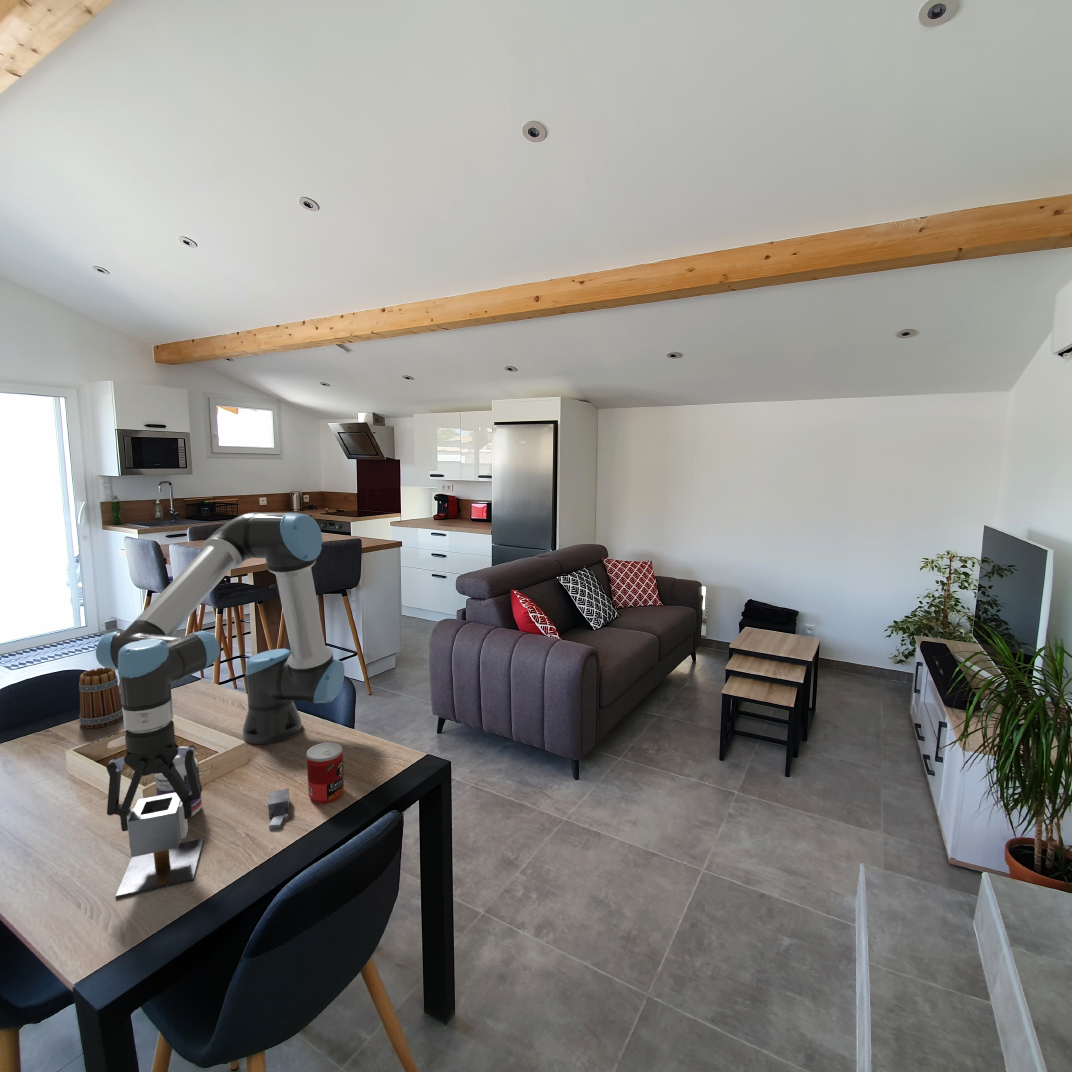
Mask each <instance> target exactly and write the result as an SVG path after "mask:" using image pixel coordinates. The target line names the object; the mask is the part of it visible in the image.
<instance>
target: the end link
mask: <svg viewBox="0 0 1072 1072" xmlns="http://www.w3.org/2000/svg"><path fill="white" fill-rule="evenodd" d="M179 803H180V798H179V797H178V795H177V794H176V793H170V794H165V795H159V796H157V795H155V796H149V797H143V798H138V800H137V802H136V804H135V806H134V807H133V808H134V810H133V812H132V814H131V816H130V819H129V821H128V828H129V835H128V839H129V838H130V845H129V850H130V856H131V858H132V857H136V856H141V855H146V854H150V853H155V852H160V851H164V850H169V849H174V848H178V847H179V845H180V843H182V839H181V833H180V822H179V810H178V806H179ZM131 858H130V859H131Z"/></svg>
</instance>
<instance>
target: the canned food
mask: <svg viewBox="0 0 1072 1072" xmlns="http://www.w3.org/2000/svg"><path fill="white" fill-rule="evenodd" d="M343 752H344V751H343V747H342V745H341V744H339V743H336V742H328V741H327V742H322V743H318V744H317V743H316V745H315V744H314V745H313V746H310V748H308V749H307V751H306V755H305V756H306V771H307V787H308V790H307V791H308V797H309V799H310V800H311V802H314V803H316V804H329V803H332V802H334V801H337V800H338V799H340V798H342V796H343V794H344V791H345V779H344V778H345V777H344V754H343Z"/></svg>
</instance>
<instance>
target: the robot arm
mask: <svg viewBox="0 0 1072 1072" xmlns="http://www.w3.org/2000/svg"><path fill="white" fill-rule="evenodd" d="M322 545H323V534H322V530H321V528H320V526H319V524H318V523H317V521H316V520H315V519H314V518H312V517H311V515H309V514H305V513H298V512H297V513H296V512H291V511H290V512H261V511H254V512H253V511H252V512H247V513H244V514H241V515H239V516H237V517H235V518H233V519H231V520H229V521H228V522H226V523H225V524H223V525H222V526H220V527H218V529H217V530H216V531H214V532H213V533H212V534H211V535H210V536H209V537H207V539H206V540H205V541H204V542H203V545H202V550H201V552H200V553H199V554H198V555H197V556H196V557H194V559H192V561H191V562H190V563H189V564H188V565H187V566H185V568H184V569H183V570H182V571H181V572H180V573H179V574H178V575H177V576H176V577H175V578H174V579H173V580H172V581H171V582H170V583H169V584H168V585H167V586H166V588H165V589H164V590H163V591H162V592H161V593H160V594H159V595H158V596H156V598H155V599H154V600H153V601H152V602H151V603H150V604H149V605H148V606H147V607H146V609H144V610H143V611H142V613H140V615H138V616H137V617H136V619H135V620H134V621H133V622H131V624H130V625H129V626H128V627H127V628H126V629H125V630H123V631H122V630H118V631H112V632H108V633H107V634H105V635H104V636H102V637H101V638H100V640H99V641H98V643H97V645H96V647H95V657H96V661H97V662H98V664H99V665H101V667H102V668H110V669H115V671H117V675H118V682H120V689H121V701H122V710H123V717H122V719H123V727H124V729H125V731H124V738H125V749H126V751H125V752H126V754H125V755H124V756H123V757H119V758H117V757H112V758H111V759H110V761H109V762H108V763H107V765H106V771H107V773H108V775H109V781H108V783H109V784H108V791H107V792H108V795H107V804H106V805H107V806H106V814H107V815H108V816H113V815H118V816H119V817H120V818H119V819H120V827H121V831H122V832H127V833H128V836H129V828H128V821H129V819H130V816H131V814H132V812H133V810H134V808H135V807H131V806H132V804H133V801H134V798H135V796H136V792H137V790H138V788H139V785H140V782H141V779H142V778H143V777H146V776H149V775H155V774H159V773H162V774H163V776H164V777H165V778H167V780H168V781H169V783H170V784H171V786H172V787H173V789H174V791H175V792H176V794H177V795H178V797H179V798H180V803H179V806H178V810H179V822H180V833H181V840H182V839H186V836H187V834H188V830H189V825H188V819H191V818H192V817H191V815H192V812H193V809H192V801H193V800H194V799H199V798H200V795H201V796H202V792H203V787H202V786H203V785H202V782H201V778H200V773H199V774H198V771H197V767H196V763H195V759H194V758H195V752H196V746H195V745H194V744H192V745H189V746H187V747H188V748H179V747H180V746H179V745H178V744H177V742H176V734H175V733H176V732H175V723H174V720H173V719H174V710H173V699H172V698H173V697H172V684H174V683H175V684H176V683H178V681H180V680H183V679H186V678H187V677H189V676H191V675H193V674H196V673H198V672H201V671H204V670H205V669H206V668H208V667H209V666H212V665H213V664H214V663H215V662H217V660H218V659H219V656H220V653H221V648H220V644H219V643H220V642H219V641H218V639H217V638H216V637H215V636H214V634H212V633H210V632H208V631H205V630H199V631H195V632H190V633H188V635H174V634H175V633H176V632H177V631H178V630H179V629H180V627H181V626H182V625H183V624H184V623H185V622H186V620H187V619H188V618H189V617H190V616H191V614H193V613H194V611H195V610H196V609H197V608H198V607H199V606H200V605H201V603H203V601H204V600H205V599H206V598H207V597H208V595H210V593H211V592H212V591H213V590H214V589H215V588H216V587H217V585H219V583H220V582H221V581H222V580H223V578H224V577H225V576H226V575H227V574H228V573H229V572H230V571H231V570H234V569H238V567H240V566H241V564H242V563H243V562H245V561H248V560H250V559H254V558H256V559H265V562H266V563H265V564H266V567H267V570H268V571H269V572H270V573H272V574H274V575H275V577H276V582H277V588H278V593H279V598H280V603H281V608H282V613H283V618H284V622H285V627H286V628H285V629H286V632H287V637H288V642H289V647H290V649H288V648H275V649H269V650H266V651H262V652H259V653H256V654H254V655H252V656H251V657H249V659H247V661H246V663H245V681H246V682H245V684H246V694H247V695H246V696H247V708H248V709H247V713H246V717H245V719H244V722H243V723H244V724H243V727H242V735H243V736H242V737H243V740H244V741H245V742H247V743H249V744H254V745H267V744H268V745H269V744H275V743H279V742H282V741H285V740H288V739H290V738H292V737H294V736H296V735H297V734H298V733H299V732H300V731H301V729H302V718H301V715H300V714H299V712H298V709H297V707H296V704H295V703H294V702H295V701H297V702H307V703H314V704H318V703H319V704H320V703H321V704H327V703H330V702H332V701H333V700H334V699H336V697H337V696H338V694H339V693H340V690H341V689H342V685H343V683H344V679H345V678H344V677H345V665H344V663H343V662H342V661H341V660H339V659H334V656H333V650H332V648H330V647H329V646H327V645H326V643H325V638H324V633H323V627H322V621H321V616H320V610H319V605H318V600H317V599H318V598H317V593H316V589H315V583H314V582H315V581H314V576H313V572H312V571H313V570H312V567H313V566H314V565H315V564H316V562H317V558H318V557H319V555H320V553H321V552H322V549H323V547H322ZM177 755H179V756H180V757H181V760H183V761H185V769H186V773H187V776H188V780H189V784H190V788H191V791H190V790H189V788H188V787H187V785H186V784H185V782H184V780H183V779H182V777H181V776H180V774H179V772H178V771H177V769H176V767H175V764H174V762H173V760H174V759H175V757H176V756H177ZM125 765H127V766H128V767H129V768H130V769H131V770H133V771H134V773H133V776H132V778H131V781H130V784H129V786H128V789H127V791H126V795H125V797H124V799H123V801H122V803H120V792H121V782H122V781H121V779H122V770H123V768H124V767H125ZM128 843H129V846H130V838H129V837H128Z"/></svg>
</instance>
